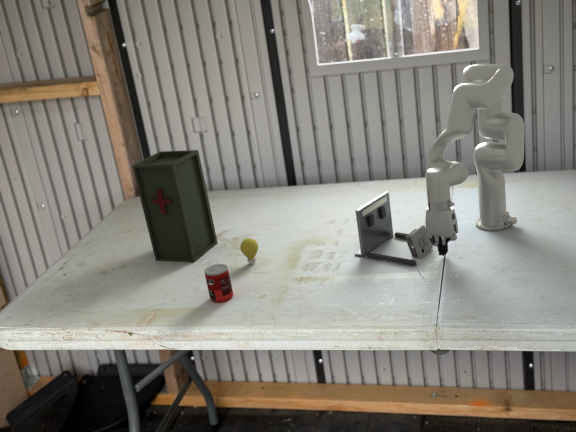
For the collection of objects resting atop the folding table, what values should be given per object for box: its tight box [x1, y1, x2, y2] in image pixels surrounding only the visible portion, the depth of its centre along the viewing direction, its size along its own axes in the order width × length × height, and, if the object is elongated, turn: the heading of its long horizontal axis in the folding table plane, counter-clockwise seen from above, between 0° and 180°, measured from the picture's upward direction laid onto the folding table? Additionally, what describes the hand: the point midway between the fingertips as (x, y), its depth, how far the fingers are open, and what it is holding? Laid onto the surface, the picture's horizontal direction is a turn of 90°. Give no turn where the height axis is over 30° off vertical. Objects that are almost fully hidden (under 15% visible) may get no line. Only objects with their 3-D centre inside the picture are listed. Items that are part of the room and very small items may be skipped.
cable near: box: [365, 252, 417, 267], centre depth 230 cm, size 20×2×2 cm, turn 49°
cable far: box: [393, 231, 437, 245], centre depth 243 cm, size 20×2×2 cm, turn 49°
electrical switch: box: [404, 225, 433, 259], centre depth 232 cm, size 9×5×9 cm, turn 141°
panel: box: [354, 190, 394, 258], centre depth 242 cm, size 5×20×18 cm, turn 139°
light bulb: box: [239, 237, 259, 266], centre depth 245 cm, size 7×7×10 cm
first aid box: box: [131, 149, 218, 263], centre depth 261 cm, size 18×18×40 cm
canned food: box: [203, 263, 234, 304], centre depth 222 cm, size 8×8×11 cm
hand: (443, 253), depth 226 cm, fingers closed
